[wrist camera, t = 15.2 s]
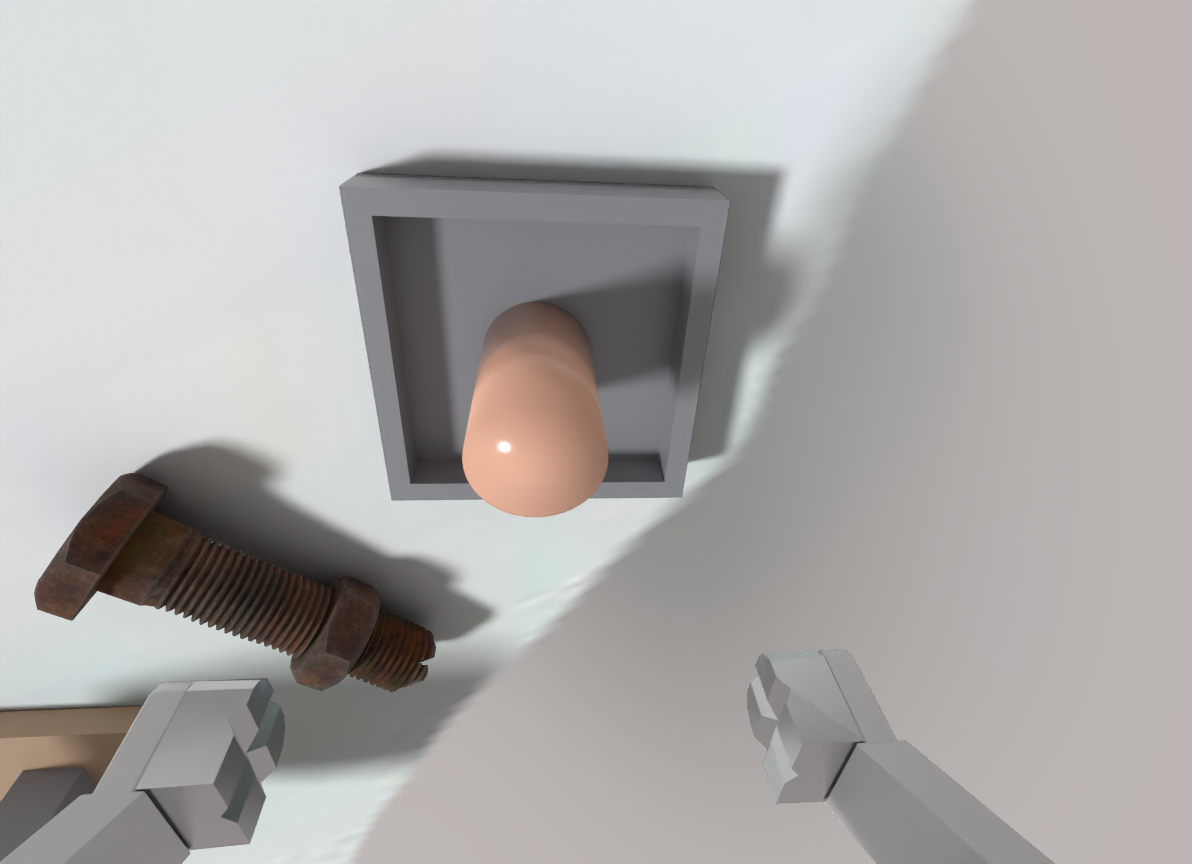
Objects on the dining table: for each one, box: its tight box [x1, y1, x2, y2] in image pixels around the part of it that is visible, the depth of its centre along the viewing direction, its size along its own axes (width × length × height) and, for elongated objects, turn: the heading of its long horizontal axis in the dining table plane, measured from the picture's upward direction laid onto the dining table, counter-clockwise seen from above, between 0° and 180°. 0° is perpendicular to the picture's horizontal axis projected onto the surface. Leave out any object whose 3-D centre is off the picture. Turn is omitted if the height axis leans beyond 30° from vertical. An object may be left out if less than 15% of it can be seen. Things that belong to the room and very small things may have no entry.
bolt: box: [34, 473, 436, 692], centre depth 26 cm, size 6×5×15 cm
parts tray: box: [339, 173, 730, 500], centre depth 22 cm, size 12×12×2 cm
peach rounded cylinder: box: [462, 302, 608, 517], centre depth 19 cm, size 4×4×7 cm
